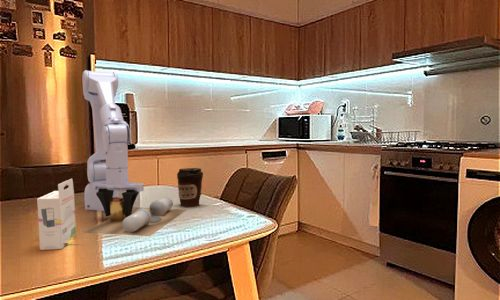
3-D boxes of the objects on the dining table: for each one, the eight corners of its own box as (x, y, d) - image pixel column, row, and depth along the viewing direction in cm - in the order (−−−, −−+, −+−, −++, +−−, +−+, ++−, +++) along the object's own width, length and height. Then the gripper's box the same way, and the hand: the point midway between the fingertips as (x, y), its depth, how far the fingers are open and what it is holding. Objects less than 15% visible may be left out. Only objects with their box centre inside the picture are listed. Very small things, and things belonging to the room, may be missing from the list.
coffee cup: (197, 212, 114) (197, 170, 113) (173, 210, 116) (172, 170, 114) (206, 205, 122) (206, 167, 121) (183, 204, 124) (182, 166, 123)
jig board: (82, 235, 90) (82, 231, 90) (133, 210, 116) (132, 207, 116) (150, 239, 87) (150, 235, 87) (187, 212, 113) (187, 209, 113)
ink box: (55, 237, 89) (53, 178, 88) (76, 237, 89) (74, 177, 88) (38, 250, 80) (35, 184, 79) (61, 249, 81) (58, 184, 79)
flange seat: (135, 222, 99) (135, 221, 99) (145, 216, 104) (145, 216, 104) (156, 223, 98) (156, 222, 98) (165, 217, 103) (165, 217, 103)
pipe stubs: (121, 233, 90) (120, 214, 90) (159, 210, 113) (159, 195, 112) (139, 234, 89) (138, 215, 89) (174, 211, 112) (173, 196, 112)
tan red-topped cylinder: (107, 221, 100) (106, 199, 99) (115, 217, 104) (114, 196, 104) (121, 222, 99) (121, 200, 99) (129, 217, 103) (129, 196, 103)
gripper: (84, 168, 98) (86, 218, 99) (134, 170, 95) (135, 221, 96) (99, 165, 105) (101, 212, 106) (146, 166, 102) (147, 214, 103)
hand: (118, 216), depth 101 cm, fingers open, 5 cm apart
